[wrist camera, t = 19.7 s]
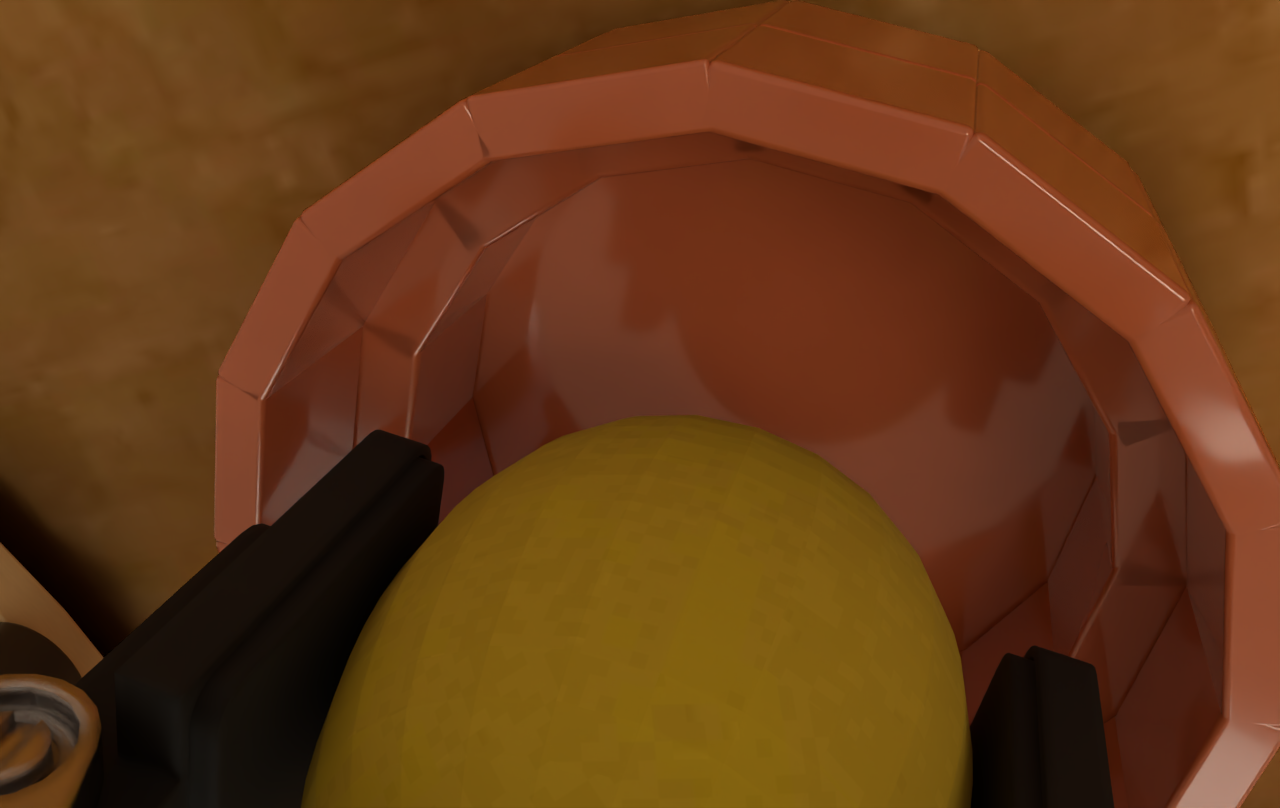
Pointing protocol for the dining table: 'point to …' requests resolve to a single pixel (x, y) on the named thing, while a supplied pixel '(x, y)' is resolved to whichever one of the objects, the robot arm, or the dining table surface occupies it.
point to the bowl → (814, 341)
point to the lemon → (654, 641)
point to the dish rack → (38, 629)
